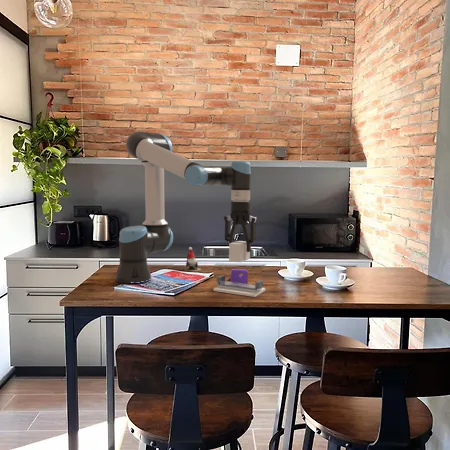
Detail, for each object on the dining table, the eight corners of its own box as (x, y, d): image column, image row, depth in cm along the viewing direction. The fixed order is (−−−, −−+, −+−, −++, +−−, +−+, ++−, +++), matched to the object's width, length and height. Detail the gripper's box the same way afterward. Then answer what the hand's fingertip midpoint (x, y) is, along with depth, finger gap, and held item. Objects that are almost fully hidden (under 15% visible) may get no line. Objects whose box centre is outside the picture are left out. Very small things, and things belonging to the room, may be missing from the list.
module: (228, 261, 168) (229, 243, 167) (238, 257, 176) (238, 240, 175) (240, 262, 166) (241, 244, 165) (249, 258, 174) (250, 241, 173)
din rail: (215, 286, 174) (215, 277, 173) (222, 283, 179) (222, 274, 179) (258, 293, 166) (258, 283, 165) (263, 289, 171) (264, 280, 171)
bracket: (247, 286, 182) (247, 270, 181) (231, 286, 181) (231, 270, 181) (245, 279, 193) (245, 264, 193) (230, 279, 193) (230, 264, 193)
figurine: (198, 265, 203) (183, 247, 208) (188, 279, 208) (174, 261, 212) (209, 262, 210) (194, 245, 215) (198, 276, 214) (184, 259, 219)
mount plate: (213, 290, 172) (213, 288, 171) (225, 285, 181) (225, 282, 181) (254, 296, 164) (255, 294, 164) (265, 290, 173) (265, 288, 173)
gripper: (215, 200, 169) (215, 258, 172) (258, 202, 161) (257, 262, 163) (224, 199, 176) (223, 255, 178) (265, 201, 168) (264, 259, 170)
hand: (239, 259), depth 171 cm, fingers closed on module, 5 cm apart
